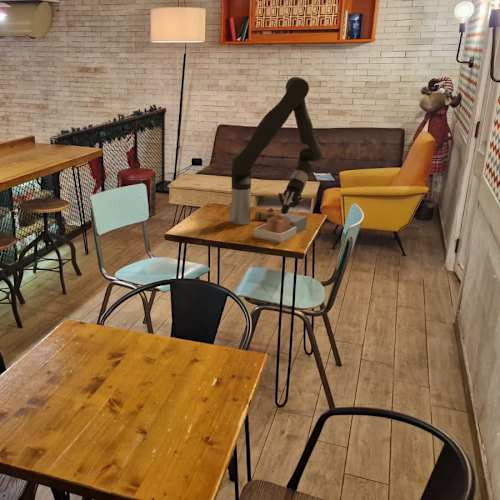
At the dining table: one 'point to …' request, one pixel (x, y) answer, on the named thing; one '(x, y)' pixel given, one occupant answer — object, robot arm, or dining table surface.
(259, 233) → the box
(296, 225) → the grey platform
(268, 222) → the terracotta block
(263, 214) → the gavel
